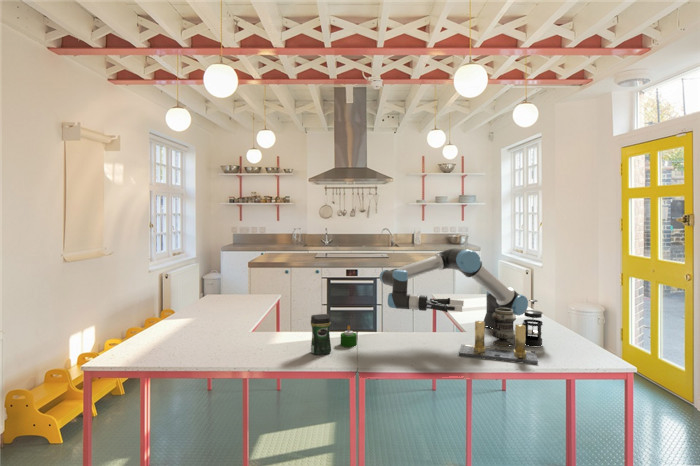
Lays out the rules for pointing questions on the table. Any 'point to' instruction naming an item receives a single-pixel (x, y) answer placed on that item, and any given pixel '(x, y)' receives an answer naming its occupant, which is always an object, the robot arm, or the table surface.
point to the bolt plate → (504, 350)
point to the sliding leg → (479, 336)
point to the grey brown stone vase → (503, 326)
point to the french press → (532, 339)
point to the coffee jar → (320, 334)
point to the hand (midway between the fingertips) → (462, 306)
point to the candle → (348, 338)
